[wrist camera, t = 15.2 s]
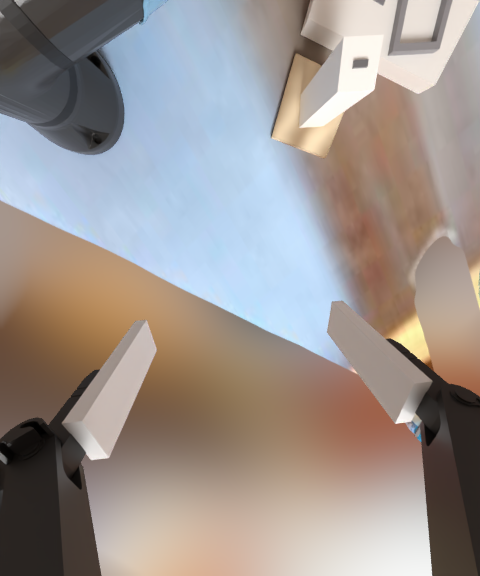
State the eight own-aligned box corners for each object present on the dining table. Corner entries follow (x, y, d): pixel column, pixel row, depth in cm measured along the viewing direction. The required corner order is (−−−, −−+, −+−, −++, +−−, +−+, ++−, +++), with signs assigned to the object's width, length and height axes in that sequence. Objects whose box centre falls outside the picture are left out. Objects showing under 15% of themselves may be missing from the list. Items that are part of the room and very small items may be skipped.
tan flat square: (271, 138, 35) (272, 136, 34) (294, 56, 31) (296, 53, 30) (323, 158, 37) (325, 157, 36) (352, 84, 33) (355, 82, 32)
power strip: (300, 34, 30) (311, 12, 26) (330, -71, 26) (347, -114, 22) (418, 94, 34) (441, 81, 30) (459, 11, 30) (492, -14, 26)
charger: (298, 127, 34) (338, 91, 22) (300, 94, 32) (345, 35, 20) (323, 126, 34) (375, 88, 22) (326, 93, 32) (385, 32, 20)
